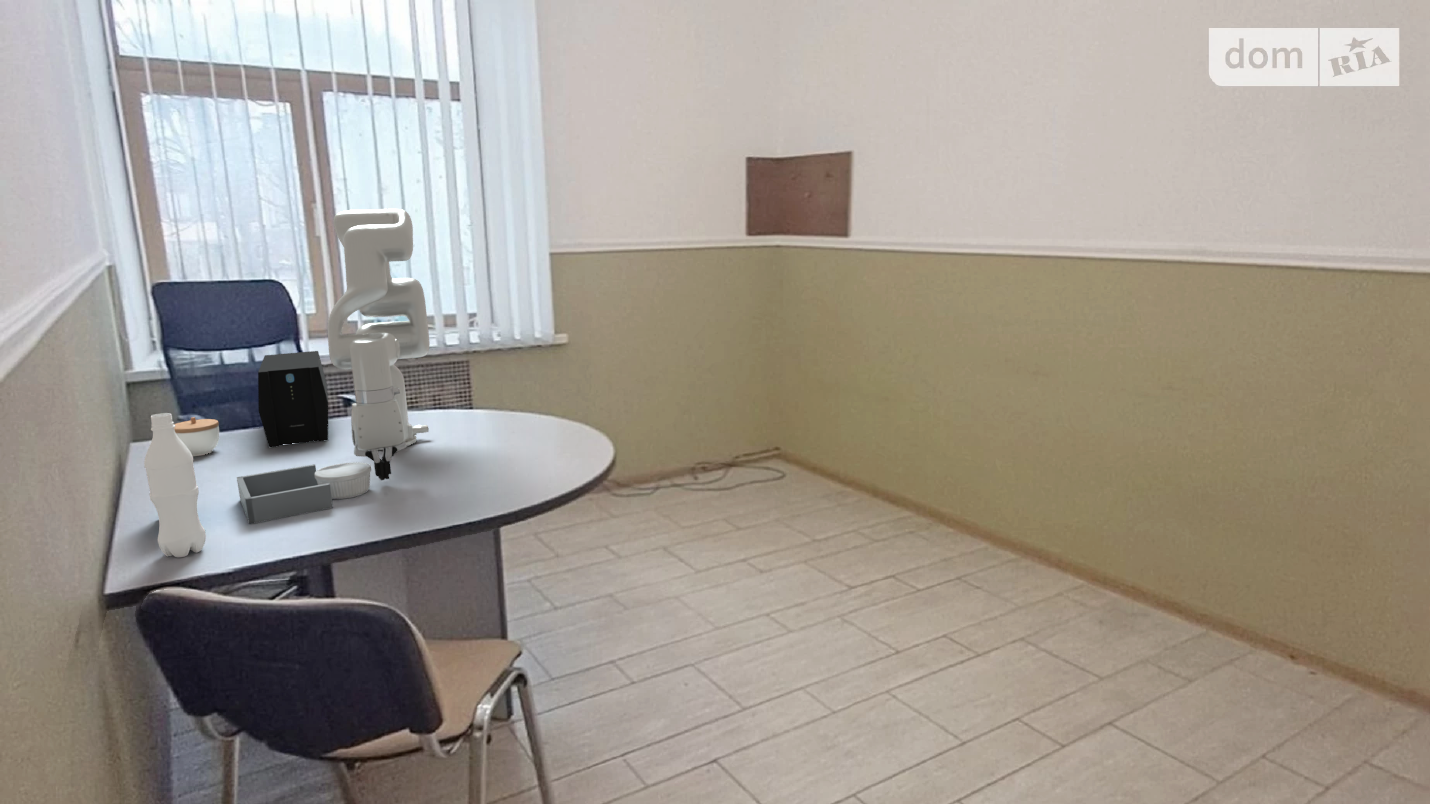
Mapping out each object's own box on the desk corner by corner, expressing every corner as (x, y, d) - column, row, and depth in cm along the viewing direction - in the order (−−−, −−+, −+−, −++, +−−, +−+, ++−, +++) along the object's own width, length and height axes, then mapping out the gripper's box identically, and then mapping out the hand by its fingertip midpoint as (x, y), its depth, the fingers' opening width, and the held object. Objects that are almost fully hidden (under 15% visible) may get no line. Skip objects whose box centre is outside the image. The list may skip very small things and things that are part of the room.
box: (317, 486, 185) (314, 464, 184) (332, 507, 171) (329, 484, 169) (240, 500, 177) (236, 477, 176) (249, 524, 162) (245, 499, 161)
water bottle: (173, 563, 144) (148, 421, 139) (152, 555, 148) (127, 417, 143) (216, 549, 150) (193, 412, 145) (195, 541, 154) (172, 408, 149)
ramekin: (349, 482, 187) (346, 459, 186) (385, 488, 182) (382, 464, 181) (305, 497, 178) (302, 473, 176) (342, 504, 173) (339, 479, 171)
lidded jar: (224, 445, 222) (219, 411, 220) (220, 455, 213) (215, 419, 211) (177, 451, 218) (171, 416, 216) (171, 461, 208) (164, 424, 206)
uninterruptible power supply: (264, 448, 218) (252, 372, 214) (270, 421, 248) (260, 354, 244) (333, 440, 225) (323, 366, 221) (330, 415, 255) (322, 349, 251)
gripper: (405, 388, 187) (414, 468, 191) (333, 398, 179) (343, 480, 183) (414, 394, 181) (423, 475, 185) (340, 403, 173) (351, 489, 177)
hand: (383, 478), depth 184 cm, fingers closed
